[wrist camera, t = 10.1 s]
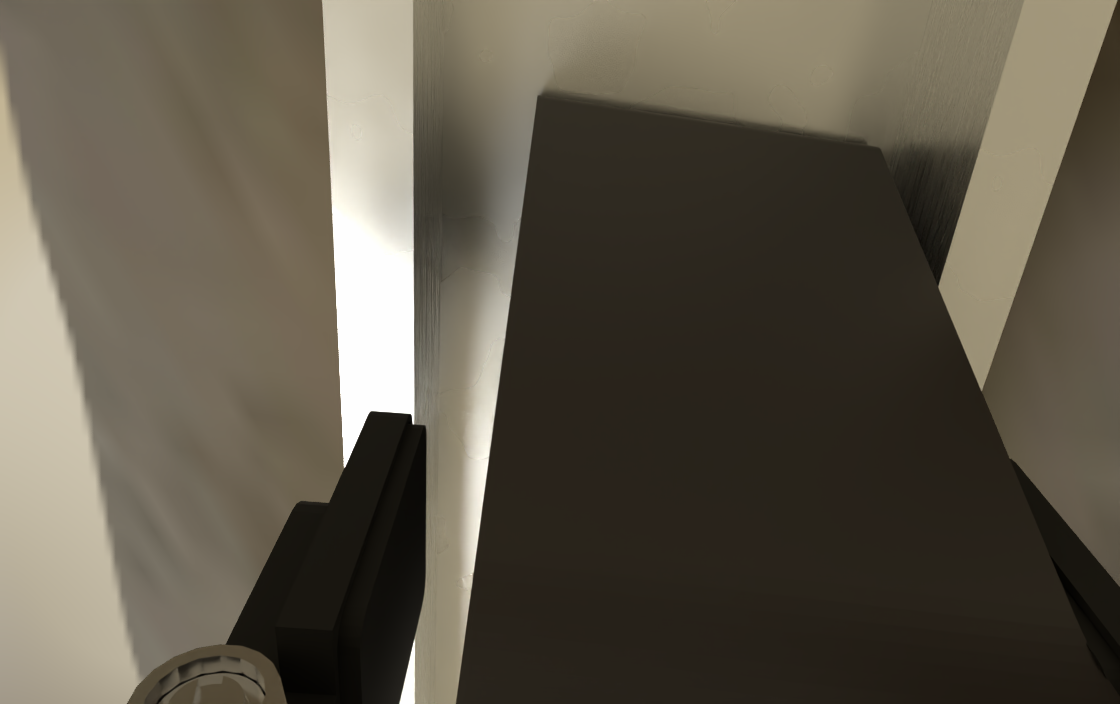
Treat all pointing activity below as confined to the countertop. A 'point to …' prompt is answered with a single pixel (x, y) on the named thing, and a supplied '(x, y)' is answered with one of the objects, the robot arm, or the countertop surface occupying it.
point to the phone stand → (745, 443)
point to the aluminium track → (666, 88)
